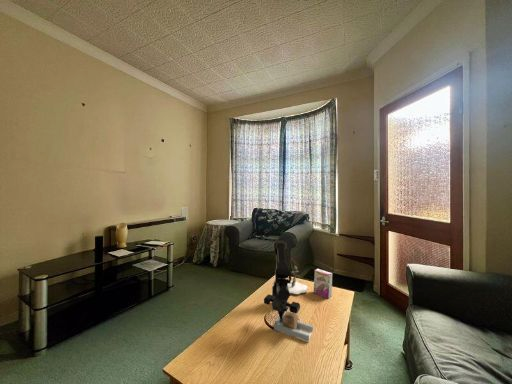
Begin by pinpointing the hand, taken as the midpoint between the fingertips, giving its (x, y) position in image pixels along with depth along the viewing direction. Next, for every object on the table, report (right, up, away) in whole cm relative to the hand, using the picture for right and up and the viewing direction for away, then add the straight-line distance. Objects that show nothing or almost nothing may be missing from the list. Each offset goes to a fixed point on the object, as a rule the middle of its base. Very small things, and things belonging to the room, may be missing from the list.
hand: (281, 318), depth 114 cm
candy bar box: (+32, -4, +34) cm, 47 cm away
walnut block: (+4, -4, -2) cm, 6 cm away
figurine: (+15, -3, +41) cm, 44 cm away
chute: (+6, -4, -3) cm, 8 cm away
